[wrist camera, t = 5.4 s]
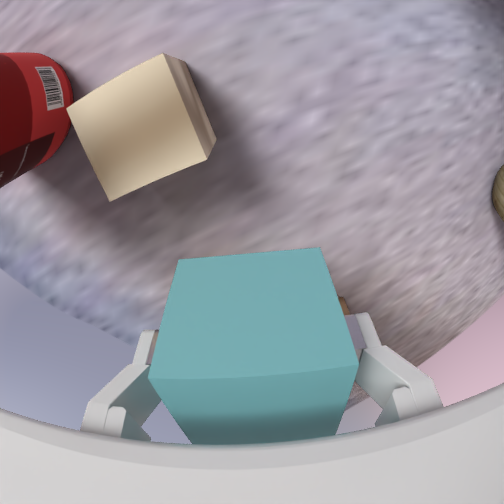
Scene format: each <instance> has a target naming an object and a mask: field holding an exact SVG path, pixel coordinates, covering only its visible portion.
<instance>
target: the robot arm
mask: <svg viewBox="0 0 504 504" xmlns="http://www.w3.org/2000/svg"><path fill="white" fill-rule="evenodd" d="M344 317H345V320H346V324H347V327H348V330H349V333H350V336H351V339H352V342H353V345H354V349H355V352H356V355H357V358H358V362H359V367H358V370H357V373H356V377H355V380H354V381H355V382H356V383H357V384H358V385H359V386H360V387H361V388H362V389H363V390H364V391H365V392H366V393H367V394H368V395H369V396H370V397H371V398H372V399H373V400H374V401H376V403H377V404H378V405H379V406H380V407H381V408H383V411H382V412H381V414H380V416H379V418H378V419H377V421H376V423H375V427H373V428H368V429H364V430H359V431H354V432H349V433H343V434H338V435H332V436H325V437H318V438H311V439H303V440H294V441H285V442H273V443H258V444H232V445H204V444H177V443H162V442H151V438H150V437H149V435H148V434H147V433H146V432H145V431H144V430H143V429H142V428H141V426H142V425H143V423H144V422H145V421H146V419H147V418H148V417H149V416H150V414H151V413H152V412H153V410H154V409H155V408H156V407H157V405H158V404H159V403H160V401H161V398H160V397H159V395H158V394H157V392H156V390H155V389H154V387H153V386H152V384H151V382H150V381H149V379H148V375H149V371H150V367H151V362H152V358H153V354H154V350H155V346H156V341H157V337H158V333H159V330H143V331H142V333H141V335H140V339H139V342H138V345H137V349H136V353H135V356H134V360H133V363H132V364H128V365H127V366H126V367H125V368H124V369H123V370H122V371H121V372H120V373H119V374H118V375H117V376H116V377H115V378H113V379H112V380H111V381H110V382H109V383H108V384H107V385H106V386H105V387H104V388H103V389H102V390H101V391H100V392H99V393H98V394H96V395H95V396H94V397H93V398H92V399H91V400H90V401H89V402H88V405H87V408H86V411H85V415H84V418H83V422H82V425H81V429H80V431H79V430H74V429H69V428H65V427H61V426H57V425H53V424H49V423H45V422H41V421H38V420H35V419H31V418H28V417H25V416H22V415H19V414H16V413H13V412H10V411H7V410H4V409H1V408H0V504H504V383H502V384H500V385H498V386H496V387H494V388H491V389H489V390H487V391H485V392H482V393H480V394H478V395H475V396H473V397H470V398H468V399H465V400H462V401H460V402H457V403H455V404H452V405H449V406H446V407H443V404H442V402H441V400H440V397H439V394H438V392H437V389H436V387H435V385H434V382H433V380H432V378H430V377H429V376H428V375H426V374H425V373H423V372H422V371H420V370H419V369H418V368H417V367H415V366H414V365H412V364H411V363H410V362H408V361H407V360H405V359H404V358H403V357H401V356H400V355H398V354H397V353H396V352H394V351H393V350H392V349H390V348H389V347H387V346H386V345H384V346H382V345H381V342H380V340H379V337H378V335H377V332H376V330H375V327H374V325H373V323H372V320H371V318H370V315H369V314H368V313H367V312H365V313H358V314H354V315H353V314H351V315H344Z"/></svg>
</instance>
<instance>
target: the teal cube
mask: <svg viewBox="0 0 504 504" xmlns="http://www.w3.org/2000/svg"><path fill="white" fill-rule="evenodd" d="M358 367H359V362H358V358H357V355H356V352H355V349H354V345H353V342H352V339H351V336H350V333H349V330H348V327H347V324H346V320H345V317H344V314H343V311H342V308H341V305H340V303H339V300H338V297H337V294H336V291H335V288H334V285H333V282H332V280H331V277H330V274H329V271H328V268H327V266H326V263H325V260H324V257H323V255H322V252H321V249H320V247H319V248H307V249H296V250H284V251H273V252H261V253H249V254H238V255H226V256H214V257H202V258H191V259H179V260H178V264H177V267H176V271H175V274H174V278H173V281H172V285H171V288H170V292H169V295H168V299H167V303H166V307H165V310H164V314H163V318H162V322H161V326H160V329H159V333H158V337H157V341H156V346H155V350H154V354H153V358H152V362H151V367H150V371H149V375H148V379H149V381H150V382H151V384H152V386H153V387H154V389H155V390H156V392H157V394H158V395H159V397H160V398H161V400H162V401H163V403H164V404H165V406H166V407H167V409H168V410H169V412H170V413H171V415H172V416H173V418H174V419H175V421H176V422H177V423H178V425H179V426H180V428H181V429H182V431H183V432H184V433H185V435H186V436H187V437H188V439H189V440H190V441H191V443H192V444H204V445H232V444H258V443H273V442H285V441H294V440H303V439H311V438H318V437H325V436H332V435H335V434H336V431H337V429H338V426H339V424H340V421H341V418H342V415H343V413H344V410H345V407H346V404H347V401H348V398H349V395H350V392H351V389H352V386H353V383H354V380H355V377H356V373H357V370H358Z"/></svg>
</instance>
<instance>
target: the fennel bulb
mask: <svg viewBox="0 0 504 504" xmlns="http://www.w3.org/2000/svg"><path fill="white" fill-rule="evenodd" d="M492 199H493V203H494V207H495V209H496V211H497V212H498V214H499V216H500V217H501V219H502V220H503V221H504V165H503V166H501V168H500V170H499V171H498V172H497V175H496V178H495V180H494V186H493V191H492Z"/></svg>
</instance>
